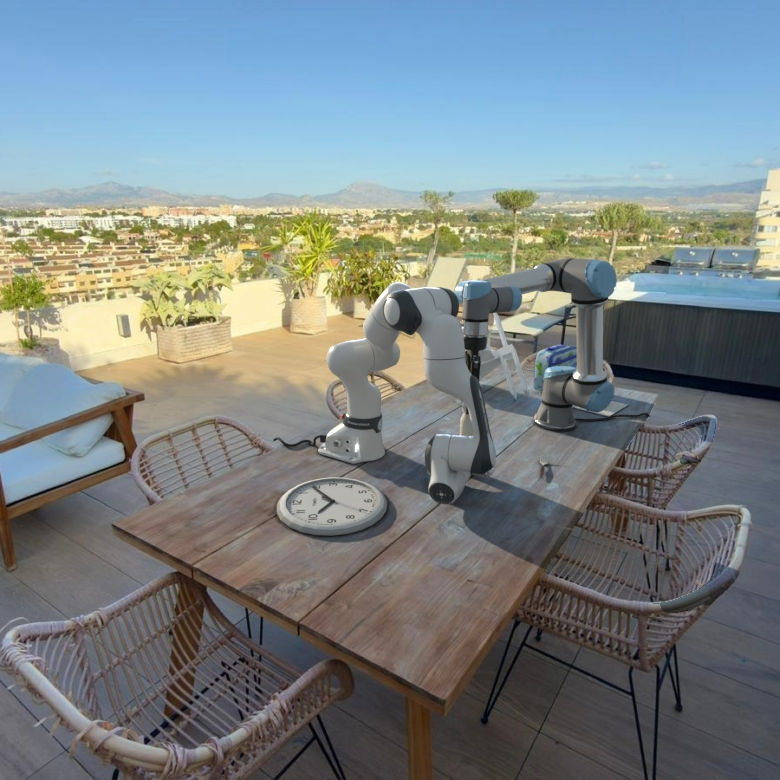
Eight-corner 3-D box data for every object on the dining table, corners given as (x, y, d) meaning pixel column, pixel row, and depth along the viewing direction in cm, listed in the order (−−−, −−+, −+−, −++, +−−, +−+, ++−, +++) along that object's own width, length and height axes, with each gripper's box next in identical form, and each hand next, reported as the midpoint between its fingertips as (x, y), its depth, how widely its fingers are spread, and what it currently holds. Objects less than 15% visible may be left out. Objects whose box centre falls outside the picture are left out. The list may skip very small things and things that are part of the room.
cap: (479, 410, 159) (479, 403, 158) (471, 414, 155) (472, 407, 155) (466, 407, 161) (467, 400, 161) (459, 410, 158) (459, 403, 157)
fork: (536, 478, 160) (536, 472, 159) (540, 458, 174) (541, 452, 173) (545, 480, 159) (545, 474, 158) (548, 459, 173) (549, 453, 173)
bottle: (465, 476, 161) (469, 409, 154) (453, 470, 165) (457, 404, 158) (476, 471, 164) (481, 405, 157) (464, 466, 168) (469, 401, 161)
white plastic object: (461, 429, 252) (437, 405, 227) (444, 352, 274) (420, 323, 250) (535, 404, 240) (518, 377, 215) (510, 326, 262) (492, 293, 237)
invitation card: (608, 416, 214) (573, 407, 224) (608, 416, 214) (573, 408, 224) (628, 404, 229) (594, 396, 238) (628, 405, 229) (594, 397, 238)
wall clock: (392, 527, 129) (268, 531, 127) (391, 533, 130) (269, 537, 127) (383, 473, 158) (282, 475, 155) (383, 478, 158) (282, 480, 156)
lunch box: (550, 397, 237) (555, 352, 231) (529, 391, 245) (533, 348, 238) (577, 386, 255) (582, 344, 249) (556, 381, 262) (561, 340, 256)
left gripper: (492, 465, 146) (501, 447, 159) (423, 453, 153) (436, 437, 166) (491, 486, 148) (499, 466, 161) (422, 473, 155) (435, 455, 168)
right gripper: (457, 328, 160) (453, 400, 167) (465, 341, 142) (460, 421, 149) (481, 329, 160) (476, 400, 167) (493, 342, 142) (487, 421, 149)
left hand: (466, 451), depth 163 cm, fingers closed on bottle, 5 cm apart
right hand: (469, 410), depth 158 cm, fingers open, 6 cm apart
